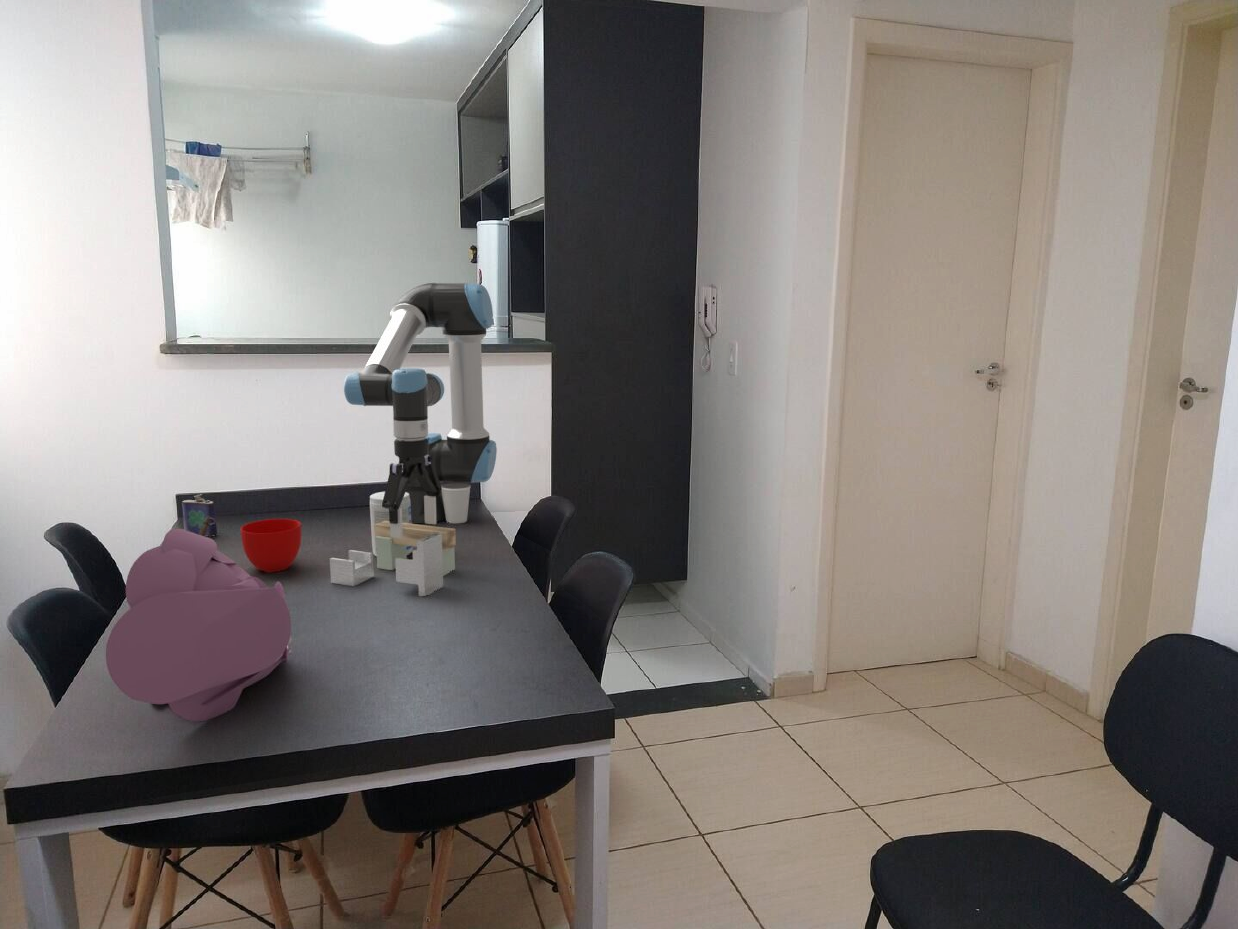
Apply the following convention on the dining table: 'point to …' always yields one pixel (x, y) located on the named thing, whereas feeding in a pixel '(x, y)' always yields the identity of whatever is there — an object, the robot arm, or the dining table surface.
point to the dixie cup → (456, 501)
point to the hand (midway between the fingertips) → (414, 530)
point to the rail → (417, 534)
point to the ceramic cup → (271, 543)
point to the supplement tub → (387, 515)
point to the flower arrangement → (195, 629)
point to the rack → (405, 555)
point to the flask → (199, 515)
